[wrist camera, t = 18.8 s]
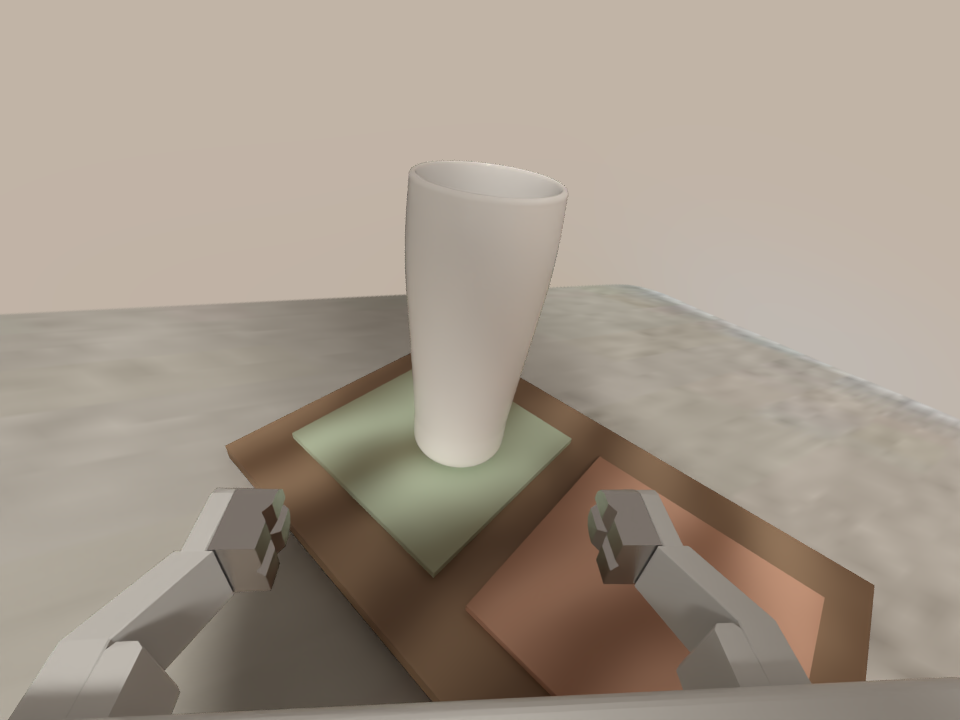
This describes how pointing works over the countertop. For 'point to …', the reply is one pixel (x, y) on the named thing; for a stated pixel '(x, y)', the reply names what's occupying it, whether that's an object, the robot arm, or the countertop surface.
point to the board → (525, 548)
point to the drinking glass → (474, 297)
